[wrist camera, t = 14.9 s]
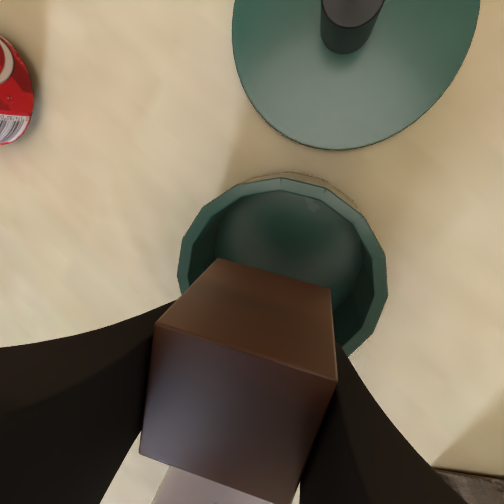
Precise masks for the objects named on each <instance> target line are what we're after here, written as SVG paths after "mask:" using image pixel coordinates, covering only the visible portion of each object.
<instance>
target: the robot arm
mask: <svg viewBox="0 0 504 504" xmlns="http://www.w3.org/2000/svg"><path fill="white" fill-rule="evenodd" d="M175 301H176V300H175ZM175 301H172V302H170V303H168V304H165V305H163V306H161V307H158V308H156V309H153V310H151V311H148V312H146V313H144V314H141V315H139V316H136V317H133V318H130V319H127V320H124V321H122V322H119V323H116V324H113V325H110V326H107V327H104V328H100V329H97V330H93V331H89V332H86V333H82V334H78V335H74V336H69V337H64V338H59V339H53V340H48V341H43V342H38V343H32V344H25V345H18V346H11V347H2V348H0V504H100V502H101V500H102V498H103V496H104V494H105V493H106V491H107V489H108V487H109V485H110V483H111V482H112V480H113V478H114V476H115V474H116V473H117V471H118V469H119V467H120V465H121V464H122V462H123V460H124V458H125V456H126V455H127V453H128V451H129V449H130V448H131V446H132V444H133V443H134V441H135V439H136V438H137V436H138V435H139V433H140V431H141V430H142V422H143V414H144V406H145V398H146V390H147V382H148V374H149V366H150V358H151V350H152V342H153V333H154V325H155V322H156V321H157V320H158V319H159V318H160V317H161V316H162V315H163V314H164V313H165V312H166V311H167V310H168V309H169V308H170V307H171V306H172V305H173V304H174V302H175ZM335 350H336V362H337V374H338V382H337V385H336V387H335V390H334V393H333V395H332V398H331V401H330V403H329V406H328V408H327V411H326V414H325V416H324V419H323V422H322V424H321V427H320V430H319V432H318V435H317V437H316V440H315V443H314V445H313V448H312V451H311V453H310V456H309V459H308V461H307V464H306V467H305V469H304V472H303V474H302V477H301V480H300V503H299V504H468V503H467V502H466V501H465V500H464V499H463V498H462V497H461V496H460V495H459V494H458V493H457V492H456V491H455V490H453V489H452V488H451V487H450V486H449V485H448V484H447V483H446V482H445V481H444V480H443V479H442V478H441V477H440V476H439V474H438V473H437V472H436V471H435V470H434V469H433V468H432V467H431V466H430V465H429V464H428V463H427V462H426V461H425V460H424V459H423V458H422V457H421V456H420V455H419V454H418V453H417V451H416V450H415V449H414V448H413V447H412V446H411V445H410V443H409V442H408V441H407V440H406V439H405V438H404V436H403V435H402V434H401V433H400V432H399V431H398V429H397V428H396V427H395V426H394V425H393V423H392V422H391V421H390V419H389V418H388V417H387V416H386V414H385V413H384V412H383V410H382V409H381V407H380V406H379V405H378V403H377V402H376V401H375V399H374V398H373V396H372V395H371V393H370V392H369V391H368V389H367V388H366V386H365V385H364V383H363V381H362V380H361V378H360V377H359V375H358V374H357V372H356V370H355V369H354V367H353V365H352V364H351V362H350V360H349V359H348V357H347V355H346V354H345V352H344V350H343V349H342V347H341V345H340V344H339V343H338V342H335ZM152 504H273V503H271V502H268V501H265V500H263V499H260V498H257V497H254V496H252V495H249V494H246V493H244V492H241V491H238V490H235V489H233V488H230V487H227V486H225V485H222V484H219V483H216V482H214V481H211V480H208V479H206V478H203V477H200V476H197V475H195V474H192V473H189V472H187V471H184V470H181V469H178V468H176V467H173V466H169V468H168V470H167V472H166V475H165V477H164V479H163V481H162V483H161V485H160V487H159V489H158V491H157V493H156V495H155V498H154V500H153V502H152Z"/></svg>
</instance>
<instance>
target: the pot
mask: <svg viewBox="0 0 504 504" xmlns="http://www.w3.org/2000/svg"><path fill="white" fill-rule="evenodd" d="M217 258H221V259H225V260H229V261H232V262H236V263H239V264H243V265H247V266H250V267H254V268H257V269H261V270H265V271H268V272H272V273H276V274H279V275H283V276H286V277H290V278H294V279H297V280H301V281H304V282H308V283H312V284H315V285H319V286H322V287H326V288H329V289H330V292H331V304H332V315H333V327H334V339H335V342H338V343H339V344H340V345H341V347H342V349H343V350H344V352H345V354H346V355H347V357H348V356H349V355H350V354H351V353H353V352H354V351H355V350H356V349H357V348H358V347H359V346H360V345H361V344H362V343H363V342H364V341H365V340H366V339H367V338H368V337H369V336H370V335H372V333H373V332H374V330H375V327H376V325H377V322H378V320H379V317H380V315H381V312H382V310H383V307H384V305H385V302H386V300H387V298H388V288H387V273H386V257H385V253H384V251H383V250H382V248H381V246H380V244H379V242H378V241H377V239H376V237H375V235H374V233H373V232H372V230H371V228H370V226H369V224H368V223H367V221H366V219H365V217H364V216H363V214H362V213H361V212H360V210H359V209H358V207H357V206H356V205H355V203H354V202H353V201H352V200H351V199H349V198H348V197H347V196H345V195H344V194H343V193H342V192H340V191H339V190H338V189H336V188H335V187H333V186H332V185H331V184H329V183H328V182H327V181H324V180H323V179H318V178H314V177H311V176H308V175H303V174H297V173H293V172H284V173H278V174H271V175H266V176H261V177H256V178H253V179H250V180H248V181H245V182H242V183H240V184H237V185H235V186H234V187H232V188H231V189H229V190H228V191H226V192H225V193H223V194H221V195H220V196H218V197H217V198H215V199H214V200H212V201H211V202H209V203H208V204H206V205H205V206H204V207H202V209H201V210H200V212H199V214H198V215H197V217H196V218H195V220H194V221H193V223H192V225H191V226H190V228H189V229H188V231H187V232H186V234H185V236H184V237H183V240H182V244H181V251H180V258H179V264H178V271H177V278H178V282H179V286H180V290H181V294H183V293H184V292H185V291H186V290H187V289H188V288H189V287H190V286H191V285H192V284H193V283H194V282H195V281H196V280H197V279H198V278H199V277H200V276H201V275H202V274H203V273H204V271H205V270H206V269H207V268H208V267H209V266H210V265H211V264H212V263H213V262H214V261H215V260H216V259H217Z"/></svg>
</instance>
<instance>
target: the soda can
mask: <svg viewBox="0 0 504 504" xmlns="http://www.w3.org/2000/svg"><path fill="white" fill-rule="evenodd" d="M32 110H33V91H32V85H31V81H30V77H29V74H28V71H27V69H26V66H25V64H24V62H23V60H22V59H21V57H20V55H19V54H18V52H17V51H16V50H15V48H14V47H13V46H12V45H11V44H10V43H9V42H8V41H7V40H6V39H5V38H4V37H3V36H1V35H0V145H3V144H8V143H11V142H13V141H15V140H16V139H18V138H19V137H20V136H21V135H22V134H23V133H24V131H25V130H26V129H27V127H28V124H29V122H30V119H31V116H32Z"/></svg>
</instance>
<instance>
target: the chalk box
mask: <svg viewBox="0 0 504 504" xmlns="http://www.w3.org/2000/svg"><path fill="white" fill-rule="evenodd" d="M434 470H435V471H436V472H437V473H438V474H439V476H440V477H441V478H442V479H443V480H444V481H445V482H446V483H447V484H448V485H449V486H450V487H451V488H452V489H453V490H455V491H456V492H457V493H458V494H459V495H460V496H461V497H462V498H463V499H464V500H465V501H466V502H467V503H468V504H504V480H502V479H496V478H490V477H483V476H475V475H469V474H463V473H457V472H451V471H445V470H437V469H434Z"/></svg>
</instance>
